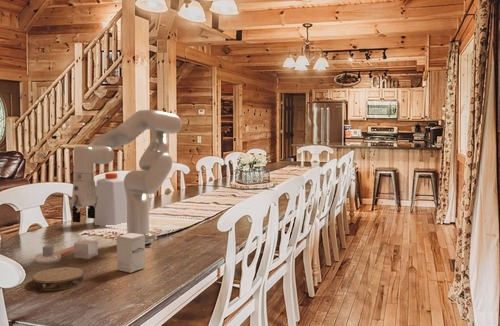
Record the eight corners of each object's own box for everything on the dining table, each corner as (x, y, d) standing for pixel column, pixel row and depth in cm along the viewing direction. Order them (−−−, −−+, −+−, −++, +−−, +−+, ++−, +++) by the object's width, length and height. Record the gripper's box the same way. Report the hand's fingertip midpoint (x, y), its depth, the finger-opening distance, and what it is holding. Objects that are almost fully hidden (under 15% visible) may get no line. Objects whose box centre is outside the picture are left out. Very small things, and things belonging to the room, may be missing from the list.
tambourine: (48, 274, 174) (48, 266, 174) (91, 276, 172) (91, 267, 172) (23, 289, 158) (22, 280, 158) (70, 291, 156) (70, 282, 156)
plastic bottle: (91, 227, 255) (89, 173, 253) (114, 222, 267) (113, 171, 265) (110, 231, 246) (109, 175, 244) (133, 226, 259) (132, 173, 257)
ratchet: (92, 248, 210) (91, 235, 209) (50, 265, 184) (50, 250, 184) (74, 247, 212) (73, 233, 212) (30, 263, 187) (30, 248, 186)
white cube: (97, 255, 199) (97, 240, 198) (88, 259, 193) (88, 244, 192) (84, 254, 201) (83, 240, 200) (74, 258, 195) (74, 243, 194)
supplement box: (131, 273, 175) (130, 238, 174) (116, 270, 179) (115, 235, 178) (145, 268, 181) (145, 234, 180) (131, 265, 185) (130, 232, 184)
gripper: (78, 179, 185) (78, 224, 186) (104, 176, 201) (104, 217, 202) (61, 178, 187) (62, 223, 188) (88, 175, 204) (88, 216, 205)
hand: (84, 220), depth 195 cm, fingers open, 9 cm apart
